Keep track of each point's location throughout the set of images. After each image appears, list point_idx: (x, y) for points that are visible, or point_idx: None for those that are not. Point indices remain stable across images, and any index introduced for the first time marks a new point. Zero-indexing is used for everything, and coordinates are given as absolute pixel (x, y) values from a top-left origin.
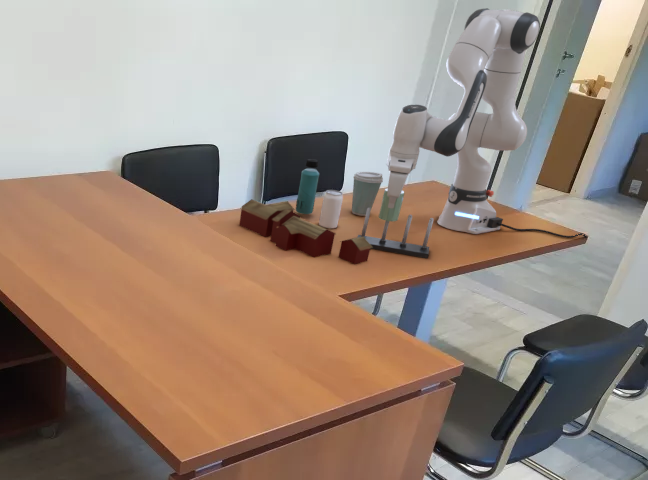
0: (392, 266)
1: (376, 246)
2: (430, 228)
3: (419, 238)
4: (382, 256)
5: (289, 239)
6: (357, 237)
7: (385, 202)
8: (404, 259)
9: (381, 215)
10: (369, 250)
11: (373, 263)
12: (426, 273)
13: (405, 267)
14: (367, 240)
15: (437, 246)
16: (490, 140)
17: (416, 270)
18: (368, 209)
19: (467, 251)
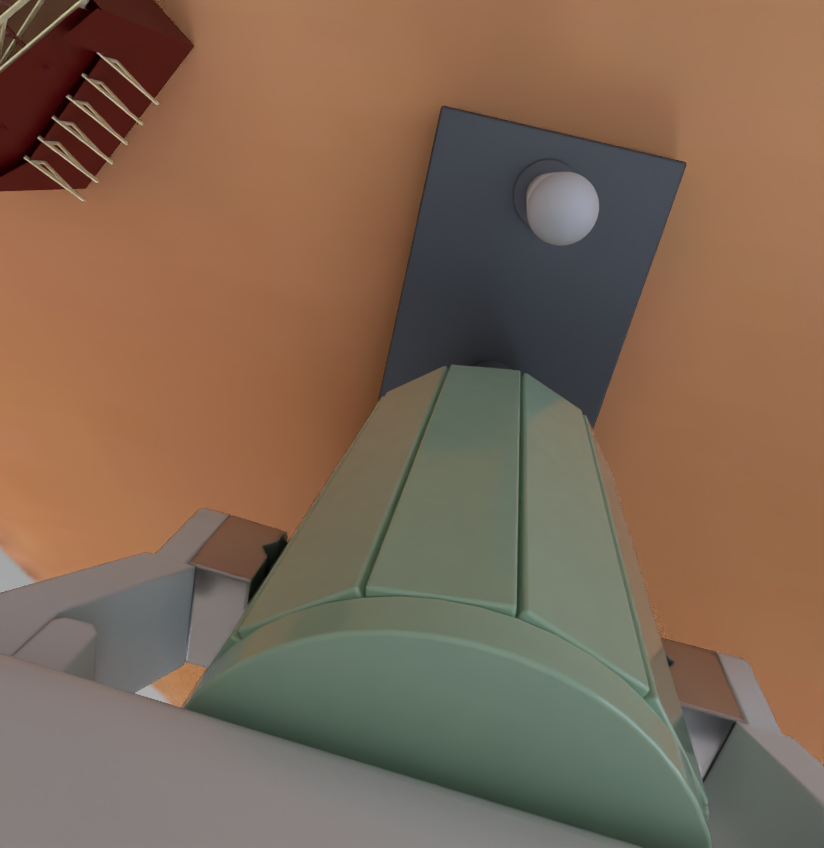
0: (63, 379)
1: (396, 317)
2: None
3: (790, 730)
4: (249, 341)
5: None
6: (582, 141)
7: (318, 504)
8: (248, 499)
9: (398, 398)
10: (16, 187)
11: (57, 236)
12: (44, 576)
13: (88, 469)
14: (505, 244)
15: None
16: None
17: (66, 528)
18: (536, 195)
19: None
